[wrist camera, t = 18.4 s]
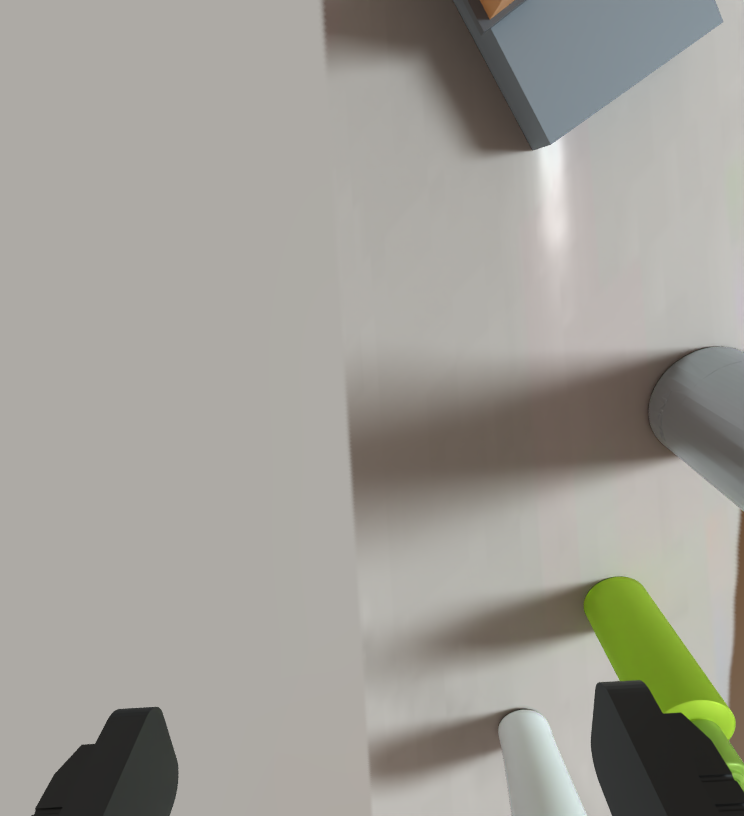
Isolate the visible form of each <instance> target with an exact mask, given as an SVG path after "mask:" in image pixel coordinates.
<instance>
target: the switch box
mask: <svg viewBox="0 0 744 816" xmlns="http://www.w3.org/2000/svg"><path fill="white" fill-rule="evenodd" d="M453 1H454V3H455V5H456V7H457V9H458V11H459V13H460V14H461V16H462V18H463V20H464V22H465V24H466V26H467V28H468V30H469V31H470V33H471V35H472V37H473V39H474V41H475V43H476V45H477V47H478V48H479V50H480V52H481V54H482V56H483V58H484V60H485V62H486V64H487V65H488V67H489V69H490V71H491V73H492V75H493V77H494V79H495V81H496V82H497V84H498V86H499V88H500V90H501V92H502V94H503V96H504V97H505V99H506V101H507V103H508V105H509V107H510V109H511V111H512V113H513V114H514V116H515V118H516V120H517V122H518V124H519V126H520V128H521V130H522V131H523V133H524V135H525V137H526V139H527V141H528V143H529V145H530V147H531V148H532V150H536V149H539V148H542V147H545V146H548V145H551V144H552V143H554V142H555V141H556V140H558V139H559V138H561V137H562V136H564V135H565V134H566V133H568V132H569V131H571V130H572V129H573V128H575V127H576V126H578V125H579V124H580V123H582V122H583V121H585V120H586V119H587V118H589V117H590V116H592V115H593V114H594V113H596V112H597V111H599V110H600V109H601V108H603V107H604V106H606V105H607V104H609V103H610V102H611V101H613V100H614V99H616V98H617V97H618V96H620V95H621V94H623V93H624V92H625V91H627V90H628V89H630V88H631V87H632V86H634V85H635V84H637V83H638V82H639V81H641V80H642V79H644V78H645V77H647V76H648V75H649V74H651V73H652V72H654V71H655V70H656V69H658V68H659V67H661V66H662V65H663V64H665V63H666V62H668V61H669V60H670V59H672V58H673V57H675V56H676V55H677V54H679V53H680V52H682V51H683V50H685V49H686V48H687V47H689V46H690V45H692V44H693V43H694V42H696V41H697V40H699V39H700V38H701V37H703V36H704V35H706V34H707V33H708V32H710V31H711V30H713V29H714V28H715V27H717V26H718V25H720V24H721V23H722V22H723V20H722V17H721V15H720V12H719V9H718V7H717V4H716V2H715V0H527V1H526V2H524V3H523V4H522V5H520V6H519V7H518V8H517V9H515V10H514V11H513V12H511V13H510V14H509V15H508V16H506V17H505V18H504V19H503V20H501V21H500V22H499V23H497V24H496V25H495V26H494V27H492V28H491V29H490V30H488V31H487V32H486V33H485V34H483V35H482V36H481V35H480V33H479V31H478V29H477V27H476V25H475V23H474V21H473V20H472V18H471V16H470V14H469V12H468V10H467V8H466V6H465V4H464V2H463V0H453Z"/></svg>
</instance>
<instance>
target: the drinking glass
mask: <svg viewBox="0 0 744 816" xmlns="http://www.w3.org/2000/svg"><path fill="white" fill-rule="evenodd" d="M498 736H499V741H500V745H501V749H502V755H503V761H504V768H505V775H506V781H507V788H508V795H509V802H510V809H511V816H587V814H586V812H585V809H584V807H583V805H582V802H581V800H580V798H579V796H578V793H577V791H576V789H575V786H574V784H573V782H572V779H571V777H570V775H569V773H568V770H567V768H566V766H565V763H564V761H563V759H562V756H561V754H560V752H559V749H558V747H557V744H556V742H555V740H554V737H553V734H552V731H551V728H550V725H549V723H548V721H547V720H546V718H545V717H544V716H543V715H541V714H540V713H538V712H536V711H532V710H517V711H514V712H512V713H510V714H508V715H506V716H505V717H504V718H503V719H502V721H501V722H500V724H499V727H498Z"/></svg>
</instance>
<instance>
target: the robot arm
mask: <svg viewBox="0 0 744 816" xmlns="http://www.w3.org/2000/svg"><path fill="white" fill-rule="evenodd" d="M649 421H650V425H651V428H652V430H653V432H654V434H655V436H656V437H657V438H658V439H659V440H660V441H661V442H662V443H663V444H664V445H665V446H666V447H667V448H668V449H670V450H671V451H672V452H673V453H674V454H676V455H677V456H678V457H679V458H680V459H682V460H683V461H684V462H685V463H686V464H687V465H688V466H690V467H691V468H692V469H693V470H694V471H696V472H697V473H698V474H699V475H700V476H702V477H703V478H704V479H705V480H707V481H708V482H709V483H710V484H711V485H713V486H714V487H715V488H716V489H717V490H719V491H720V492H721V493H722V494H723V495H725V496H726V497H727V498H728V499H729V500H731V501H732V502H733V503H734V504H736V505H737V506H738V507H739V508H740V509H742V510H743V511H744V352H743V351H741V350H738V349H736V348H730V347H723V346H721V347H709V348H705V349H701V350H698V351H695V352H693V353H691V354H689V355H687V356H684V357H683V358H682V359H680V360H679V361H677V362H676V363H674V364H673V365H672V366H671V367H670V368H669V369H668V370H667V371H666V372H665V373H664V374H663V375H662V377H661V378H660V380H659V381H658V383H657V384H656V386H655V388H654V390H653V393H652V395H651V399H650V403H649ZM591 751H592V758H593V763H594V767H595V771H596V774H597V777H598V780H599V783H600V786H601V788H602V791H603V793H604V796H605V798H606V801H607V804H608V806H609V809H610V811H611V814H612V816H744V791H743V790H742V788H741V787H740V785H739V783H738V782H737V781H735V780H734V778H733V776H732V772H731V771H730V769H729V767H728V766H727V764H726V763H725V761H724V760H723V758H722V756H721V755H720V753H719V752H718V750H717V748H716V747H715V745H714V744H713V742H712V740H711V739H710V738H709V737H707V736H706V735H705V734H704V733H703V732H702V731H701V730H700V729H699V728H698V727H697V726H695V725H694V724H693V723H692V722H691V721H690V720H689V719H688V718H687V717H686V716H685V715H683V714H682V713H681V712H680V713H662V711H661V709H660V707H659V706H658V704H657V702H656V700H655V699H654V697H653V695H652V693H651V692H650V690H649V688H648V687H647V686H646V684H645V683H644V682H643V681H641V680H632V681H615V682H599V683H597V685H596V689H595V699H594V710H593V721H592V732H591ZM177 784H178V763H177V758H176V755H175V752H174V749H173V745H172V742H171V739H170V736H169V733H168V729H167V726H166V722H165V719H164V716H163V713H162V711H161V709H160V708H159V707H146V708H129V709H118V710H116V711H114V712H113V713H112V714H111V716H110V717H109V718H108V720H107V722H106V724H105V726H104V728H103V730H102V732H101V734H100V736H99V738H98V739H97V741H96V743H95V744H87V745H81V746H80V747H79V748H78V749H77V751H76V752H75V753H74V754H73V755H72V756H71V757H70V758H69V759H68V760H67V761H66V762H65V763H64V765H63V766H62V767H61V768H60V769H59V770H58V771H57V772H56V773H55V774H54V776H53V778H52V780H51V781H50V783H49V785H48V787H47V788H46V790H45V792H44V794H43V796H42V798H41V799H40V801H39V803H38V805H37V806H36V808H35V809H36V811H35V814H34V815H32V816H169V815H170V813H171V810H172V807H173V804H174V800H175V796H176V791H177V786H178V785H177Z"/></svg>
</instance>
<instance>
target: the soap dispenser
mask: <svg viewBox="0 0 744 816" xmlns="http://www.w3.org/2000/svg"><path fill="white" fill-rule="evenodd" d="M584 612H585V614H586V616H587V618H588V620H589V622H590V624H591V626H592V628H593V630H594V632H595V634H596V636H597V637H598V639H599V641H600V643H601V645H602V647H603V649H604V651H605V653H606V655H607V657H608V659H609V661H610V663H611V665H612V667H613V668H614V670H615V672H616V674H617V676H618V678H619V680H620V681H632V680H641V681H643V682H644V683H645V684H646V686H647V687H648V688H649V690H650V692H651V693H652V695H653V697H654V699H655V700H656V702H657V704H658V706H659V707H660V709H661V711H662V713H680V712H681V713H682V714H683V715H685V716H686V717H687V718H688V719H689V720H690V721H691V722H692V723H693V724H694V725H695V726H697V727H698V728H699V729H700V730H701V731H702V732H703V733H704V734H705V735H706V736H707V737H709V738H710V739H711V740H712V742H713V744H714V745H715V747H716V748H717V750H718V752H719V753H720V755H721V756H722V758H723V760H724V761H725V763H726V764H727V766H728V767H729V769H730V771H731V772H732V776H733V778H734V780H735V781H737V782H738V783H739V785H740V787H741V788H742V790H743V791H744V763H743V762H742V760H741V759H740V757H739V756H738V754H737V753H736V751H735V750H734V748H733V746H732V745H731V743H730V742H729V739H730V738H731V737H732V735H733V732H734V730H735V718H734V715H733V713H732V712H731V710H730V709H729V707H728V706H727V705H726V703H725V702H724V700H723V699H722V698H721V696H720V695H719V693H718V692H717V690H716V689H715V688H714V686H713V685H712V683H711V682H710V680H709V679H708V678H707V676H706V675H705V673H704V672H703V671H702V669H701V668H700V666H699V665H698V663H697V662H696V661H695V659H694V658H693V656H692V655H691V654H690V652H689V651H688V649H687V648H686V646H685V645H684V644H683V642H682V641H681V639H680V638H679V636H678V635H677V634H676V632H675V631H674V629H673V628H672V627H671V625H670V624H669V622H668V621H667V619H666V618H665V617H664V615H663V614H662V612H661V611H660V609H659V608H658V607H657V605H656V604H655V602H654V601H653V600H652V598H651V597H650V595H649V594H648V592H647V591H646V590H645V588H644V587H643V586H642V585H641V584H640V583H639V582H638V581H636V580H634V579H631V578H627V577H613V578H609V579H606V580H603V581H601V582H599V583H598V584H596V585H595V586H594V587H593V588H592V589H591V590H590V591H589V592H588V594H587V595H586V597H585V600H584Z"/></svg>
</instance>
